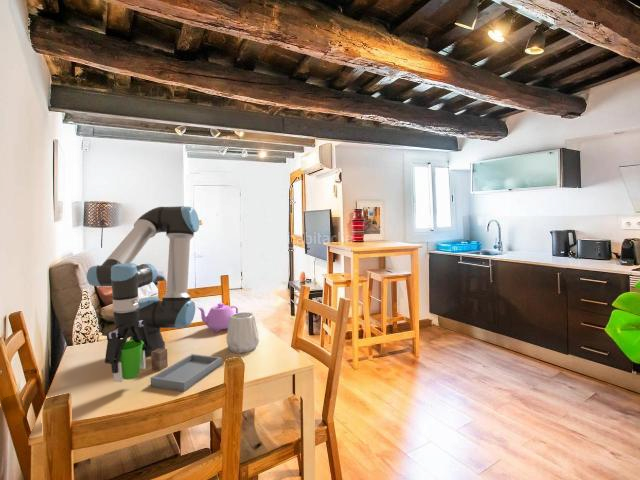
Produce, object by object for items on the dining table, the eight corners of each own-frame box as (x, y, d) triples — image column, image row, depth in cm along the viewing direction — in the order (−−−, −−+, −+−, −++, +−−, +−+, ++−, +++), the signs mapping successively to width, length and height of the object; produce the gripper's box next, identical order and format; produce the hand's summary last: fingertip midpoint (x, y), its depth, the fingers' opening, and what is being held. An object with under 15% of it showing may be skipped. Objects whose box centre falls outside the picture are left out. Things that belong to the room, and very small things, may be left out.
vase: (229, 356, 143) (228, 321, 142) (224, 345, 156) (223, 313, 155) (262, 351, 149) (261, 317, 148) (254, 341, 162) (254, 309, 161)
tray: (150, 386, 118) (150, 377, 118) (192, 361, 139) (191, 353, 139) (184, 391, 114) (184, 382, 114) (222, 365, 135) (221, 357, 135)
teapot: (201, 337, 168) (200, 310, 167) (194, 329, 181) (193, 303, 180) (244, 329, 179) (243, 303, 179) (234, 322, 192) (234, 298, 192)
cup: (150, 370, 120) (149, 340, 119) (134, 383, 111) (132, 350, 110) (127, 369, 121) (125, 339, 120) (108, 382, 112) (106, 349, 111)
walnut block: (151, 369, 131) (150, 351, 131) (159, 365, 135) (158, 348, 135) (160, 370, 130) (159, 352, 130) (167, 366, 134) (167, 349, 134)
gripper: (106, 320, 103) (111, 392, 105) (159, 302, 123) (162, 362, 125) (87, 318, 105) (92, 388, 107) (143, 300, 126) (146, 359, 128)
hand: (130, 374), depth 116 cm, fingers closed on cup, 9 cm apart
